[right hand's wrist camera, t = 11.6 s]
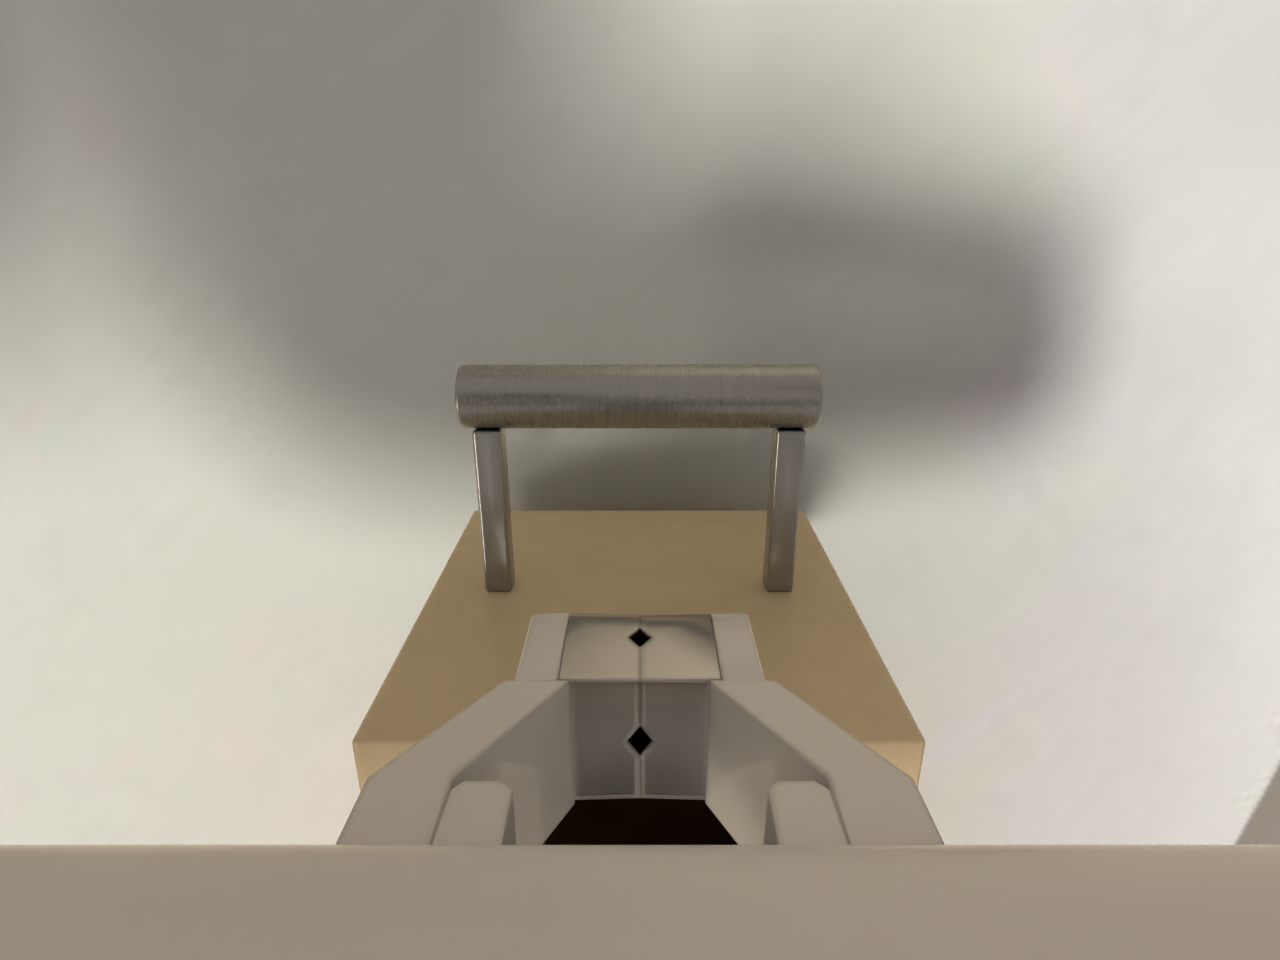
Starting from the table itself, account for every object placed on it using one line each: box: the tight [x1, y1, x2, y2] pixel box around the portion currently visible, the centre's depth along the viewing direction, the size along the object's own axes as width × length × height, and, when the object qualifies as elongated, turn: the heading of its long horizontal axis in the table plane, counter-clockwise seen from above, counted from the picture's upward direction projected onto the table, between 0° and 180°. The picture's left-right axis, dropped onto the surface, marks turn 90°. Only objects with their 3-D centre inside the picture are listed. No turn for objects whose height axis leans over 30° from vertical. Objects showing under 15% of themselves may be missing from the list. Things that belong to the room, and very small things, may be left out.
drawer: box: [352, 365, 925, 845], centre depth 19 cm, size 21×10×10 cm, turn 0°
